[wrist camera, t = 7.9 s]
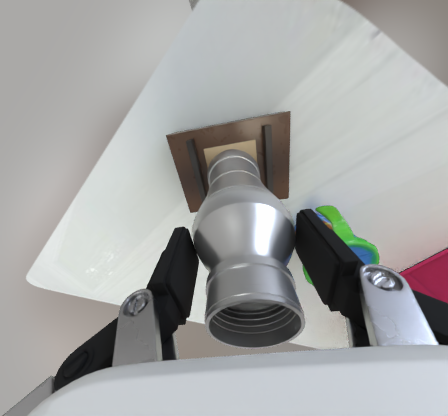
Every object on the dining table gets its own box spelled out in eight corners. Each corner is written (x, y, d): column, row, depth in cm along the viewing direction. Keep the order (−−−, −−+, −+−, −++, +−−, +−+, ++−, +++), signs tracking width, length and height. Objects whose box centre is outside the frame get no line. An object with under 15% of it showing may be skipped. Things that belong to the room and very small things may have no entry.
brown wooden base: (173, 132, 25) (161, 136, 20) (280, 111, 24) (295, 110, 19) (194, 201, 31) (188, 217, 26) (281, 188, 29) (292, 202, 25)
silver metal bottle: (212, 141, 22) (159, 250, 4) (262, 151, 22) (396, 283, 5) (206, 186, 25) (160, 356, 7) (249, 193, 25) (303, 368, 8)
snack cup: (330, 254, 37) (363, 298, 28) (282, 258, 38) (300, 301, 29) (347, 191, 30) (400, 223, 21) (287, 197, 30) (314, 231, 21)
